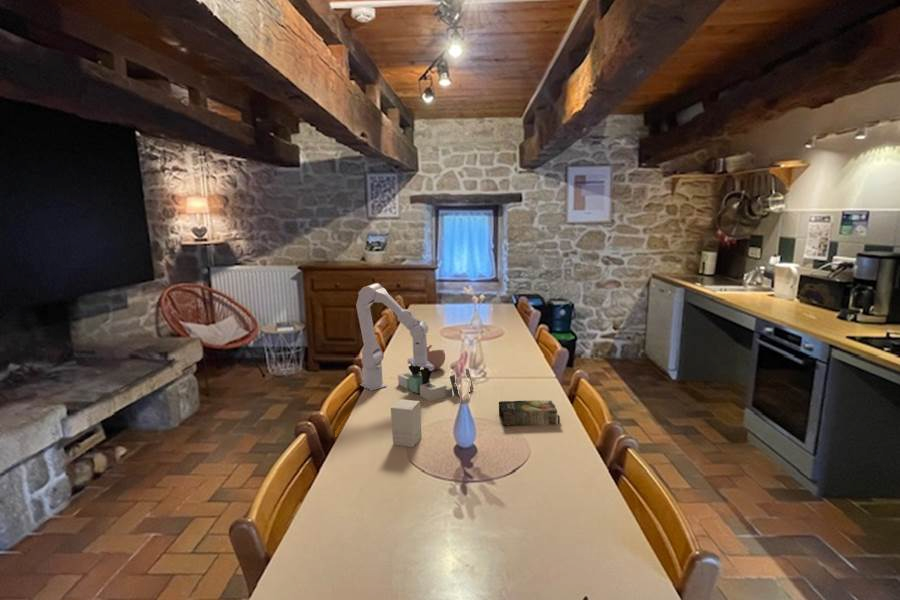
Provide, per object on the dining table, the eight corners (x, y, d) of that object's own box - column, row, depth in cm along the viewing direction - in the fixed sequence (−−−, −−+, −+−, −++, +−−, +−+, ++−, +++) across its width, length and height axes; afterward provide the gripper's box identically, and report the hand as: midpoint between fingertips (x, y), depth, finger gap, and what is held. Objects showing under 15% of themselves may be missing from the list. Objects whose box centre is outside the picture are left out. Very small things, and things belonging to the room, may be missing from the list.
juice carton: (554, 413, 169) (554, 397, 167) (561, 425, 159) (561, 408, 158) (498, 415, 168) (498, 399, 167) (502, 428, 159) (502, 411, 157)
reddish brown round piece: (439, 363, 228) (438, 341, 226) (449, 370, 217) (449, 347, 215) (416, 367, 223) (415, 344, 221) (426, 375, 212) (425, 350, 210)
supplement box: (422, 437, 153) (420, 400, 150) (413, 447, 146) (411, 409, 144) (401, 434, 155) (400, 398, 153) (392, 444, 148) (389, 407, 146)
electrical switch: (460, 397, 185) (458, 375, 184) (450, 396, 188) (447, 373, 187) (474, 390, 192) (472, 368, 191) (464, 389, 195) (462, 367, 194)
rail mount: (397, 384, 202) (396, 373, 201) (417, 378, 208) (416, 368, 207) (431, 402, 181) (431, 390, 180) (452, 395, 187) (452, 384, 186)
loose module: (409, 390, 192) (408, 376, 191) (422, 385, 197) (421, 371, 196) (417, 393, 189) (416, 379, 188) (430, 388, 194) (429, 374, 192)
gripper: (401, 350, 193) (402, 381, 196) (424, 357, 183) (425, 390, 185) (414, 346, 198) (415, 377, 200) (437, 353, 188) (438, 385, 190)
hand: (421, 383), depth 193 cm, fingers closed on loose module, 5 cm apart
